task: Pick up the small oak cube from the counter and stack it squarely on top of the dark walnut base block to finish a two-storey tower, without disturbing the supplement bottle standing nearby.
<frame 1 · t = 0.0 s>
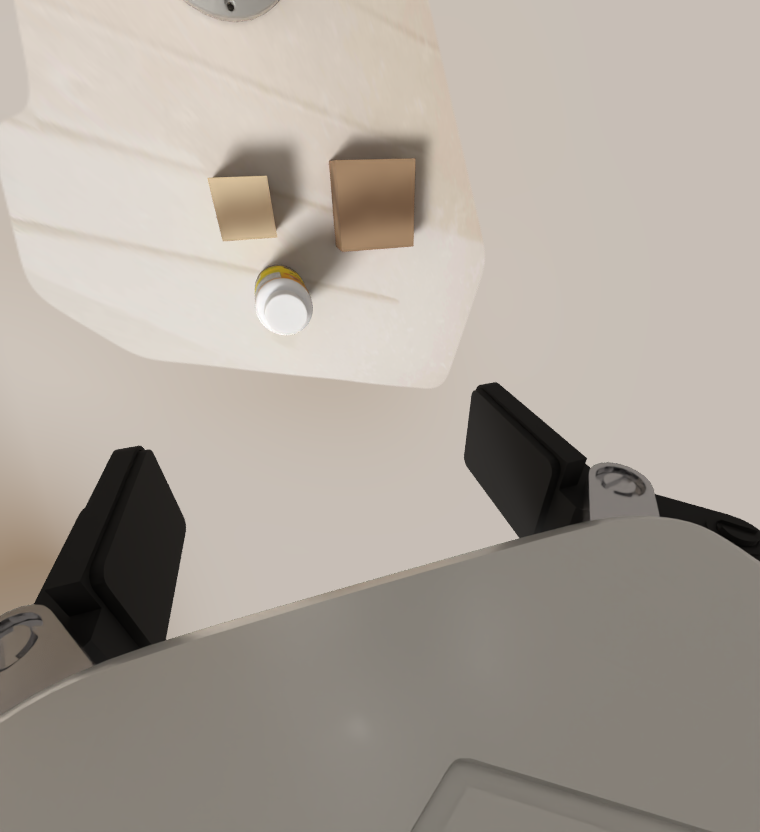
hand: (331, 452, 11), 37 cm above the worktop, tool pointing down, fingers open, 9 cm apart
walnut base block: (367, 204, 41), on the worktop
oak cube: (245, 205, 38), on the worktop
supplement bottle: (279, 288, 43), on the worktop
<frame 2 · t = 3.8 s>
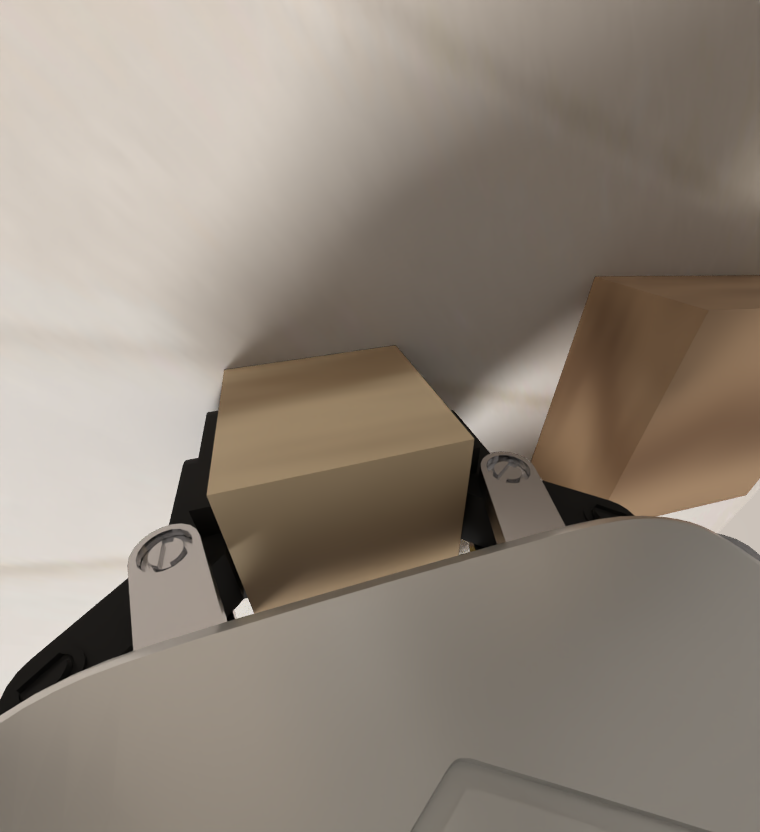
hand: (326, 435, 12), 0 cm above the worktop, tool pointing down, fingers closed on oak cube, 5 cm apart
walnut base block: (632, 374, 16), on the worktop
oak cube: (323, 426, 12), on the worktop, touching gripper
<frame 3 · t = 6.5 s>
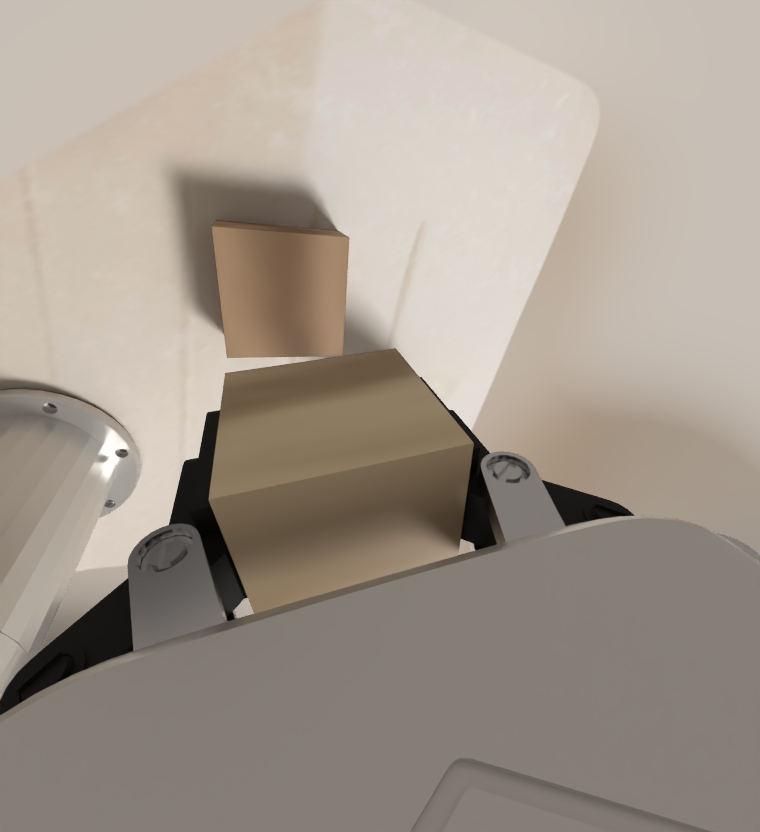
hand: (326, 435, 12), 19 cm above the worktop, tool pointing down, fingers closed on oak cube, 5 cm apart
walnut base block: (281, 285, 28), on the worktop
oak cube: (324, 429, 12), point 19 cm above the worktop, touching gripper
when the fingers open (5 cm above the worktop, at t = 9.6 s): oak cube drops 1 cm, point 4 cm above the worktop.
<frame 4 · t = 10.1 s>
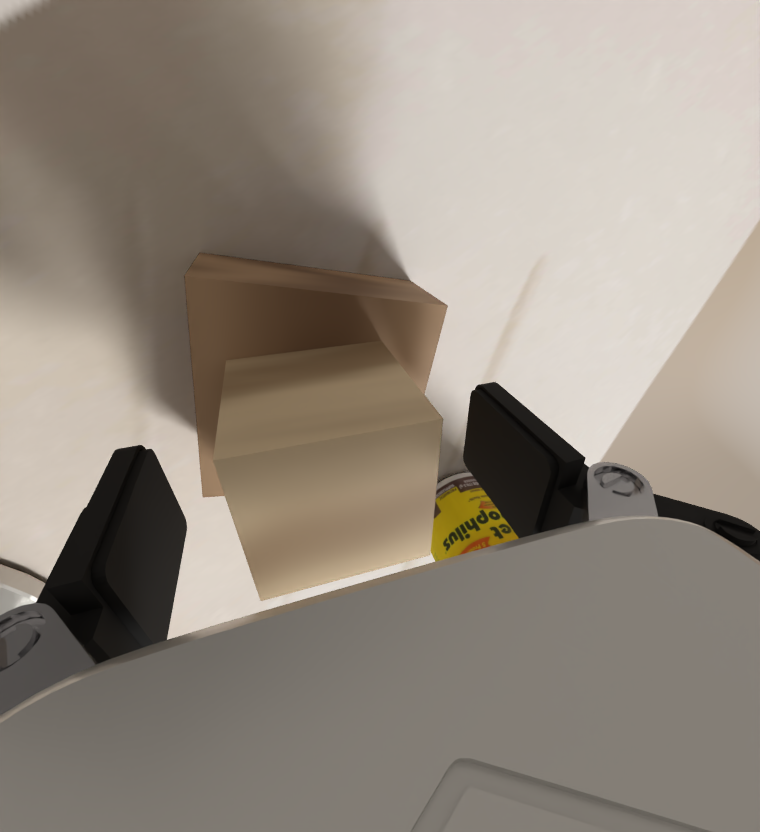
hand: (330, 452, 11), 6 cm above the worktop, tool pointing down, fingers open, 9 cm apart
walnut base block: (305, 360, 16), on the worktop
oak cube: (315, 414, 13), point 4 cm above the worktop
supplement bottle: (452, 498, 24), on the worktop
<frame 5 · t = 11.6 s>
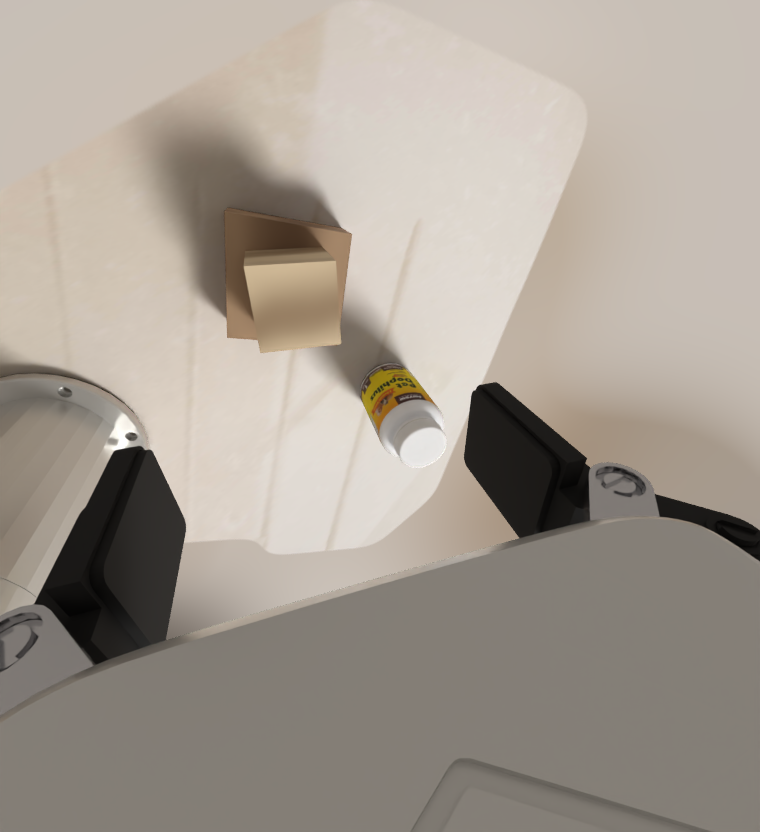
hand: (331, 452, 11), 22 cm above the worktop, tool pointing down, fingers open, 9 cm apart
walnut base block: (284, 274, 29), on the worktop
oak cube: (289, 287, 26), point 4 cm above the worktop
supplement bottle: (385, 385, 37), on the worktop
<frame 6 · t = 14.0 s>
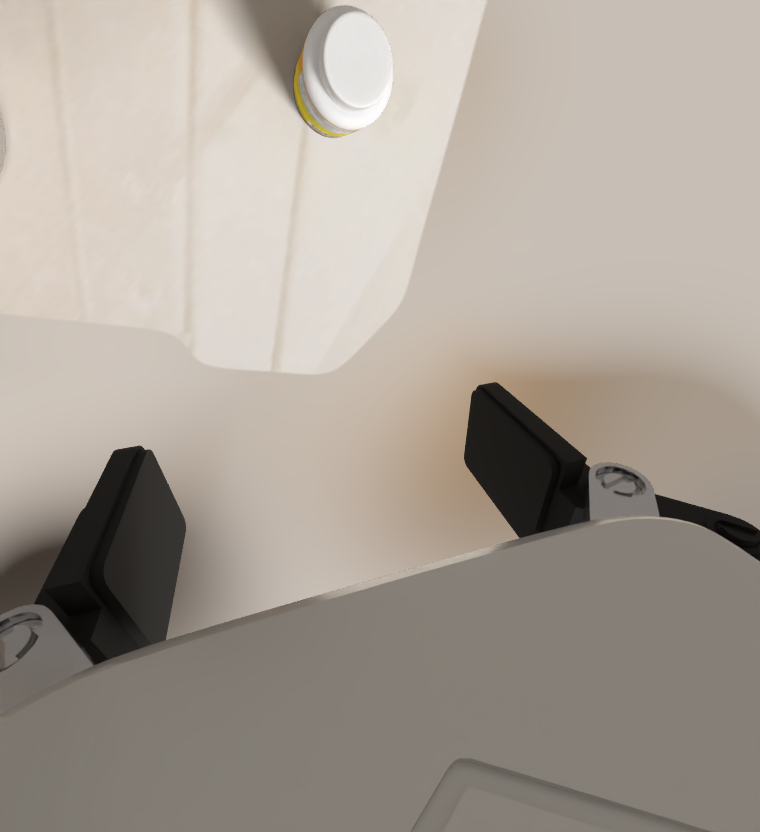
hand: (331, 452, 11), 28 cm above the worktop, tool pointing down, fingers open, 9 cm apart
supplement bottle: (328, 94, 29), on the worktop
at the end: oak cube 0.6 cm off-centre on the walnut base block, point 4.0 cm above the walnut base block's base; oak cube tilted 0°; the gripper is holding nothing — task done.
